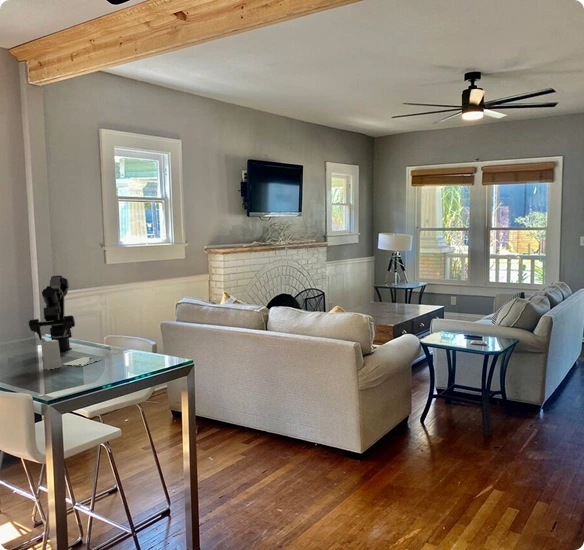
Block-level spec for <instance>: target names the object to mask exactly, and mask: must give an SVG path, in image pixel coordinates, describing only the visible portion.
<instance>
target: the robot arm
mask: <svg viewBox="0 0 584 550" xmlns="http://www.w3.org/2000/svg"><path fill="white" fill-rule="evenodd" d="M68 289H70V284H69V281H68V278H65V277H63V275H60V274H59V275H52V276H51V277H50V279H49V285H47V286H46V288H44V289H43V290H42V291H41V294H42V295H41V296H42V298H43V301H44V304H45V307H44V308H43V321H40V320H39V319H40V318H36V319H35V318H34V319H30V320H29V321H28V326H29V329H30V332H33V333H36V334H37V336H38V338H39V340H40V341H42V340H43V339H42V329H41V327H44V326H45V327H46V326H51V327H50V328H49V333H50V338H51V340H58V342H59V350H60V353H64V352H66V351H70V350H72V349H73V348H72V347H71V345H70V339H71V338H72V337H73V334H72V328H74V327H76V322H75V317H74V316H73V315H65V297H66V295H67V294H68V292H69V290H68Z"/></svg>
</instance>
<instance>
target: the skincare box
mask: <svg viewBox="0 0 584 550" xmlns="http://www.w3.org/2000/svg"><path fill="white" fill-rule="evenodd" d="M41 351H42V352H41V353H42V359H43V365H44V370H46V369H47V370H46V371H51V370H50V369H52V370H54V369H55V368H56V369H58V368H62V366H63V365H62V359H61V352H60V350H59V342H58V340H52V339H51V340H45V341H43V342H41Z"/></svg>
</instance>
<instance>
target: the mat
mask: <svg viewBox="0 0 584 550" xmlns="http://www.w3.org/2000/svg"><path fill="white" fill-rule="evenodd" d="M89 358H90V357H87V356H83V357H81V358H77V359H74V360H71V361H68V362H65V363H64V362H63V363H62V366H67V365H72V366H71V367H74V366H73V365H79V364H81V365H82V366H83V367H85V366H84V364H86V363H87V362H88V361H89Z"/></svg>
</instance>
